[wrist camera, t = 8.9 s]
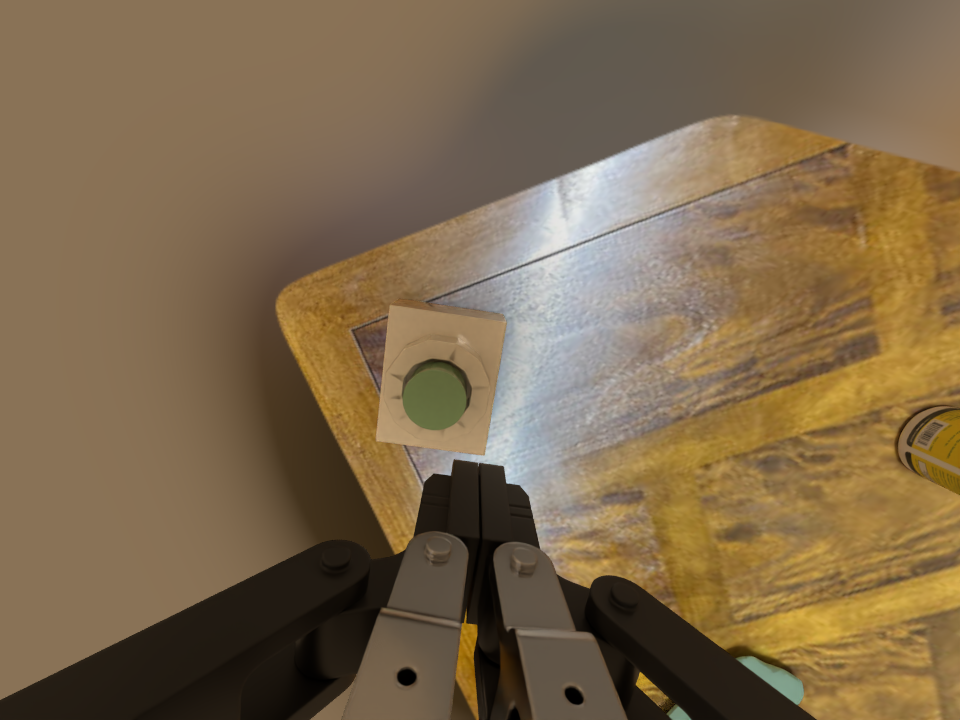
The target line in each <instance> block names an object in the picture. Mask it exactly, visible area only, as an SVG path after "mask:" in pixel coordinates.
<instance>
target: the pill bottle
mask: <svg viewBox="0 0 960 720" xmlns="http://www.w3.org/2000/svg"><path fill="white" fill-rule="evenodd" d="M898 452H899V456H900V459H901V461H902V462H903V464H904V465H905V466H906V467H907V468H909V469H910V470H911V471H913V472H915V473H917V474H918V475H920V476H922V477H924V478H926V479H928V480H930V481H932V482H934V483H936V484H938V485H940V486H942V487H944V488H946V489H948V490H950V491H952V492H954V493H956V494H959V495H960V408H955V407H949V406H941V407H934V408H931V409H928V410H925V411H923V412H921V413H919V414H917V415H916V416H915V417H913V418H912V419H911V420H910V421H909V422H908V424H907V425H906V426H905V428H904V429H903V431H902V433H901V435H900V438H899V442H898Z"/></svg>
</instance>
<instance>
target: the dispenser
mask: <svg viewBox="0 0 960 720" xmlns="http://www.w3.org/2000/svg"><path fill="white" fill-rule="evenodd" d="M506 325H507V322H506V320H505V317H504V315H503V314H500V313H494V312H487V311H480V310H474V309H467V308H460V307H454V306H447V305H440V304H433V303H427V302H420V301H413V300H407V299H398V300H396V301H395V302H393V303H392V304H390V305H389V315H388V324H387V334H386V344H385V354H384V364H383V373H382V383H381V393H380V403H379V412H378V422H377V432H376V441H380V442H387V443H394V444H402V445H409V446H417V447H424V448H432V449H439V450H447V451H454V452H462V453H469V454H476V455H485V450H486V444H487V438H488V432H489V426H490V420H491V414H492V408H493V402H494V396H495V390H496V384H497V378H498V372H499V366H500V360H501V354H502V348H503V342H504V337H505V331H506ZM431 362H442V363H446V364H449V365H451V366H453V367H454V368H456V369H457V370H458V371H459V372H460V373H461V374H462V376H463V377H464V379H465V382H466V385H467V403H466V409H465V411H464V413H463V415H462V417H461V418H460V419H459V420H458V422H456V423H455V424H454V425H452V426H451V427H448V428H446V429H442V430H428V429H425V428H422V427H420V426H418V425H416V424H415V423H414V422H413V421H412V420H411V419H410V418H409V417H408V416H407V414H406V412H405V410H404V407H403V392H404V389H405V387H406V385H407V383H408V381H409V379H410V377H411V375H412V374H413V372H414V371H415V370H416V369H417V368H419V367H420V366H422V365H424V364H427V363H431Z"/></svg>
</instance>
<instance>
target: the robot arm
mask: <svg viewBox="0 0 960 720" xmlns="http://www.w3.org/2000/svg"><path fill="white" fill-rule="evenodd" d="M466 608H467V620H466V623H468V624H477V626H478V636H477V641H476V646H475V651H474V666H475V678H476V690H477V702H478V714H479V720H672V719H671V718H670V717H669V716H668V715H667V714H666V713H665V712H664V711H663V710H662V709H661V708H659V707H658V706H657V705H656V704H655V703H654V702H653V701H652V700H651V699H650V698H649V697H648V696H647V695H646V694H645V693H644V692H643V691H641V690H640V689H639V688H638V687H637V686H636V682H637V679H638V676H639V673H640V672H641V673H642V674H644V675H645V676H646V677H647V678H648V679H649V680H650V681H651V682H652V683H653V684H655V685H656V686H657V687H658V688H659V689H660V690H661V691H662V692H663V693H664V694H665V695H667V696H668V697H669V698H670V699H671V700H672V701H673V702H674V703H675V704H676V705H678V706H679V707H680V708H681V709H682V710H683V711H684V712H685V713H686V714H687V715H688V716H689V717H690V719H691V720H816V719H815V718H814V717H812V716H811V715H810V714H808V713H807V712H806V711H804V710H803V709H802V708H800V707H799V706H798V705H796V704H795V703H794V702H792V701H791V700H790V699H788V698H787V697H786V696H784V695H783V694H782V693H780V692H779V691H778V690H776V689H775V688H774V687H772V686H771V685H770V684H768V683H767V682H766V681H765V680H763V679H762V678H761V677H759V676H758V675H757V674H755V673H754V672H753V671H751V670H750V669H749V668H747V667H746V666H745V665H743V664H742V663H741V662H739V661H738V660H737V659H735V658H734V657H733V656H731V655H730V654H729V653H727V652H726V651H725V650H723V649H722V648H721V647H719V646H718V645H717V644H715V643H714V642H713V641H711V640H710V639H709V638H707V637H706V636H705V635H703V634H702V633H701V632H699V631H698V630H697V629H695V628H694V627H693V626H691V625H690V624H689V623H688V622H686V621H685V620H684V619H682V618H681V617H680V616H678V615H677V614H676V613H674V612H673V611H672V610H670V609H669V608H668V607H666V606H665V605H664V604H662V603H661V602H660V601H658V600H657V599H656V598H654V597H653V596H652V595H650V594H649V593H648V592H646V591H645V590H644V589H642V588H641V587H640V586H638V585H637V584H635V583H633V582H631V581H629V580H627V579H624V578H621V577H617V576H610V575H608V576H601V577H598V578H596V579H595V580H594V581H593V582H592V585H591V588H590V589H589V588H586V587H583V586H581V585H578V584H575V583H573V582H570V581H568V580H566V579H564V578H562V577H560V576H559V575H557V574H556V571H555V568H554V566H553V563H552V561H551V560H550V558H549V557H548V556H547V555H546V554H545V553H544V552H543V551H541V550H540V546H539V542H538V537H537V533H536V528H535V523H534V519H533V514H532V510H531V505H530V501H529V496H528V495H527V494H526V493H525V491H524V490H523V489H522V488H521V487H520V485H514V484H506V479H505V471H504V466H498V465H491V464H484V463H479V466H478V463H476V462H469V461H462V460H455V459H454V461H453V466H452V472H451V476H448V475H441V474H433V475H432V476H431V477H429V478H428V479H427V480H426V481H425V483H424V488H423V493H422V498H421V503H420V508H419V513H418V517H417V522H416V527H415V532H414V537H413V538H412V539H411V540H410V542H409V543H408V545H407V548H406V549H405V550H404V551H402V552H401V553H399V554H396V555H394V556H391V557H386V558H380V559H370V555H369V553H368V552H367V550H366V549H365V548H364V547H362V546H360V545H359V544H357V543H355V542H352V541H347V540H331V541H326V542H322V543H320V544H317V545H315V546H313V547H311V548H309V549H307V550H305V551H303V552H301V553H299V554H297V555H295V556H293V557H291V558H289V559H287V560H285V561H283V562H281V563H279V564H276V565H274V566H272V567H270V568H269V569H267V570H264V571H262V572H260V573H258V574H256V575H254V576H252V577H250V578H248V579H246V580H244V581H242V582H240V583H238V584H236V585H234V586H232V587H230V588H228V589H226V590H224V591H222V592H219V593H217V594H215V595H213V596H211V597H209V598H207V599H205V600H203V601H201V602H199V603H197V604H195V605H193V606H191V607H189V608H187V609H185V610H183V611H181V612H179V613H177V614H175V615H173V616H171V617H169V618H167V619H165V620H163V621H160V622H159V623H156V624H154V625H152V626H150V627H148V628H146V629H144V630H142V631H140V632H138V633H136V634H134V635H132V636H130V637H128V638H126V639H124V640H122V641H120V642H118V643H116V644H114V645H112V646H110V647H107V648H105V649H103V650H101V651H99V652H97V653H95V654H93V655H91V656H89V657H87V658H85V659H83V660H81V661H79V662H77V663H75V664H73V665H71V666H69V667H67V668H65V669H63V670H61V671H59V672H57V673H55V674H53V675H50V676H48V677H47V678H45V679H42V680H40V681H38V682H36V683H34V684H32V685H30V686H28V687H26V688H24V689H22V690H20V691H18V692H16V693H14V694H12V695H10V696H8V697H6V698H4V699H2V700H0V720H310V719H311V718H312V717H314V716H315V715H316V714H317V713H318V712H320V711H321V710H322V709H323V708H324V707H326V706H327V705H328V704H329V703H330V702H332V701H333V700H334V699H335V698H336V697H338V696H339V695H340V694H341V693H342V692H344V691H345V690H346V689H347V688H348V687H349V686H350V685H351V683H352V682H353V681H354V679H355V677H356V679H355V682H354V685H353V688H352V690H351V693H350V696H349V699H348V702H347V705H346V707H345V710H344V713H343V716H342V719H341V720H450V717H451V709H452V700H453V692H454V684H455V676H456V668H457V660H458V651H459V643H460V635H461V626H462V623H464V618H465V613H466ZM356 674H357V676H356Z"/></svg>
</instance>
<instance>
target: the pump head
mask: <svg viewBox="0 0 960 720" xmlns="http://www.w3.org/2000/svg"><path fill="white" fill-rule="evenodd" d="M466 403H467V385H466V382H465V379H464V377H463V376H462V374H461V373H460V372H459V371H458V370H457V369H456V368H454V367H453V366H451V365H449V364H446V363H442V362H431V363H427V364H424V365H422V366H420V367H419V368H417V369H416V370H415V371H414V372H413V374H412V375H411V377H410V379H409V381H408V383H407V385H406V387H405V389H404V392H403V407H404V410H405V412H406V414H407V416H408V417H409V418H410V419H411V420H412V421H413V422H414V423H415V424H416V425H418V426H420V427H422V428H425V429H428V430H442V429H446V428H448V427H451V426H452V425H454V424H455V423H456V422H458V420H459V419H460V418H461V417H462V415H463V413H464V411H465V409H466Z"/></svg>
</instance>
